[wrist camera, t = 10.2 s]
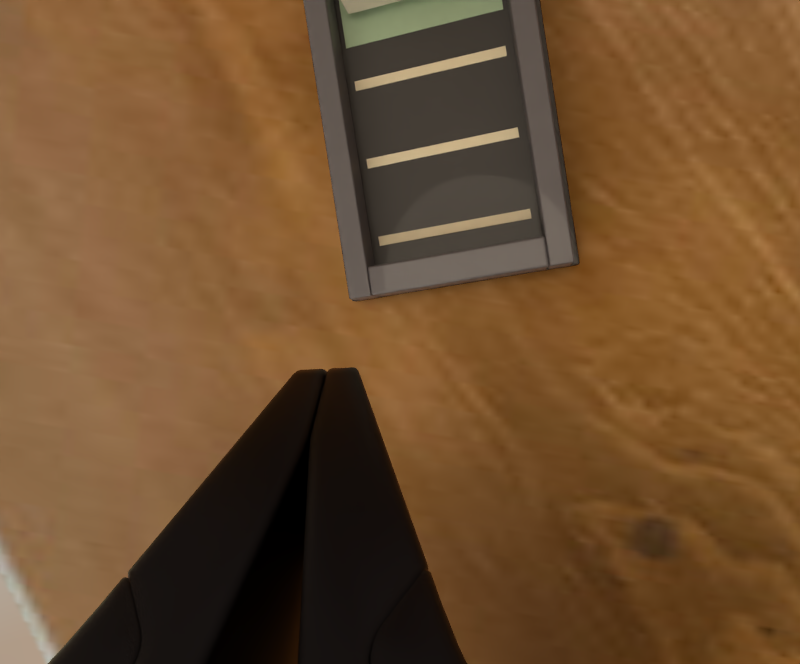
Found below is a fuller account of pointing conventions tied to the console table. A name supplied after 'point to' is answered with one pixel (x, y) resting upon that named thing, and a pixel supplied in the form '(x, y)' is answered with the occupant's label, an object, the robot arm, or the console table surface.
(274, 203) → the console table surface
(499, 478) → the console table surface
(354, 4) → the score marker
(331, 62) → the tray
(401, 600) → the robot arm
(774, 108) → the console table surface
